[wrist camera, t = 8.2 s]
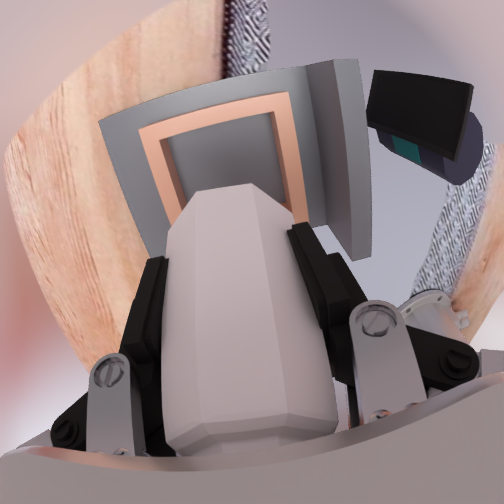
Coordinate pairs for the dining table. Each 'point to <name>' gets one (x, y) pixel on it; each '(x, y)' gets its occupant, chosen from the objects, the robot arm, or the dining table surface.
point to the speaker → (427, 122)
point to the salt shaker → (240, 331)
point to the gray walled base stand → (251, 149)
